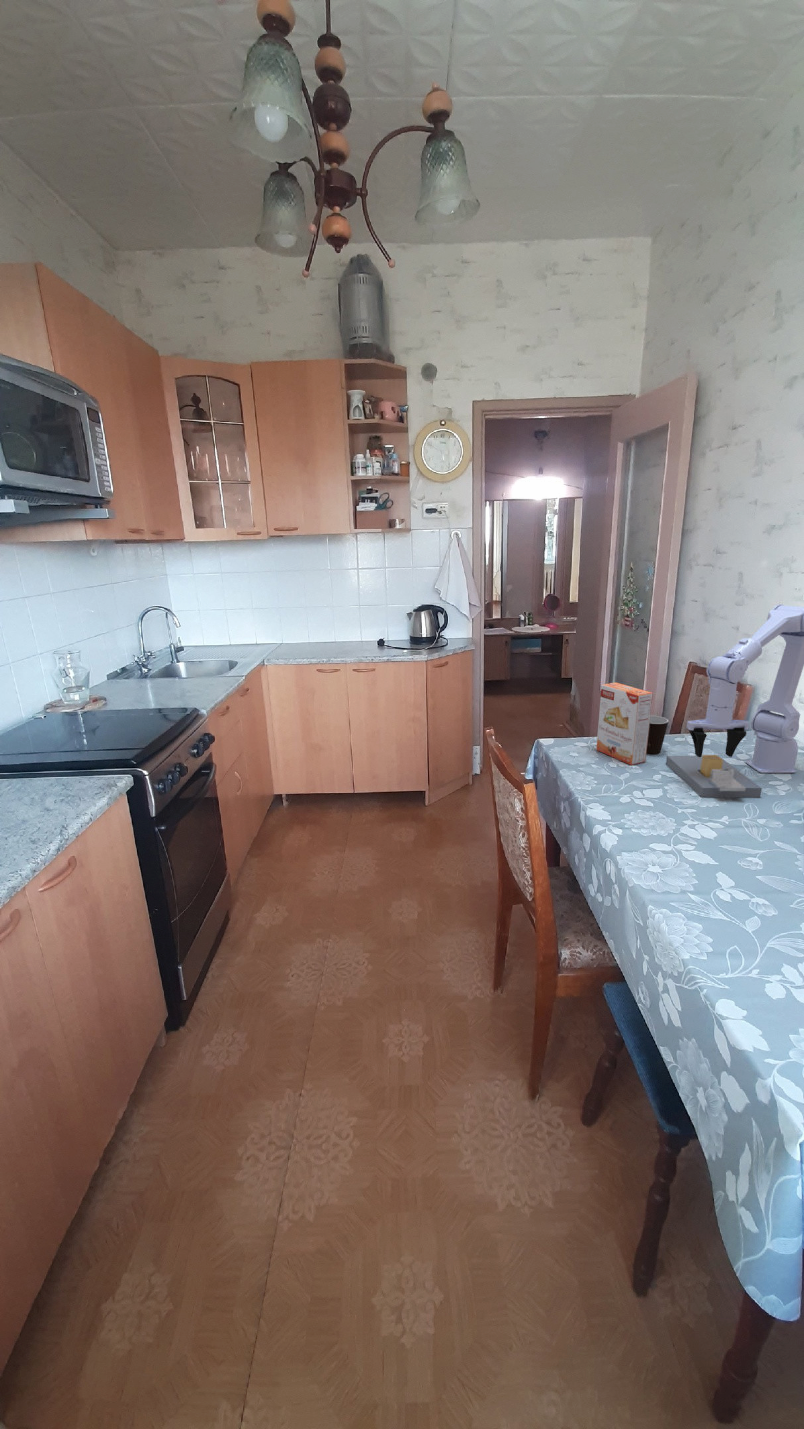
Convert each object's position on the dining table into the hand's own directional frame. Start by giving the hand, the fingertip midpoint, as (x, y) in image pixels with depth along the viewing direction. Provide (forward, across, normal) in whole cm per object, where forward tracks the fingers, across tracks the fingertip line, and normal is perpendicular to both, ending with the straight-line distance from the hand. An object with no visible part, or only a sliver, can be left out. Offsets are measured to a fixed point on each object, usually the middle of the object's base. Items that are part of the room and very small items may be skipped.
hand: (713, 755), depth 145 cm
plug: (+8, 0, 0) cm, 8 cm away
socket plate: (+8, -1, -2) cm, 8 cm away
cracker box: (+8, +17, -19) cm, 27 cm away
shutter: (+5, 0, +8) cm, 9 cm away
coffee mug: (+8, +7, -25) cm, 27 cm away
